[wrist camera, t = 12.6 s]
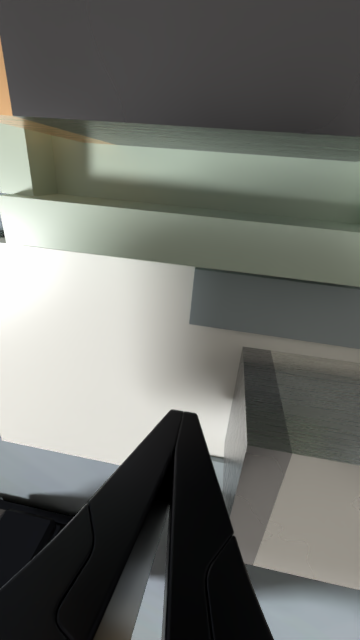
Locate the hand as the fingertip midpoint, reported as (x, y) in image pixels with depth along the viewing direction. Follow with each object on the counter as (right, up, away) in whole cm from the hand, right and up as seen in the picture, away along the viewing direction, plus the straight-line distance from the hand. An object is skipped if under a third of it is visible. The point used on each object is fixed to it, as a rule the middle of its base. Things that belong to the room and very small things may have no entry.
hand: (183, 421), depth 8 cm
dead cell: (+5, 0, +1) cm, 5 cm away
